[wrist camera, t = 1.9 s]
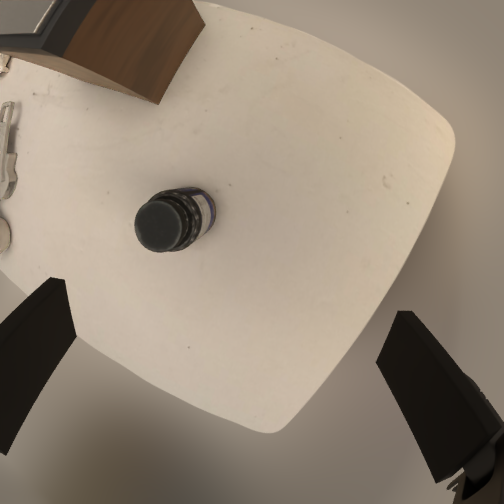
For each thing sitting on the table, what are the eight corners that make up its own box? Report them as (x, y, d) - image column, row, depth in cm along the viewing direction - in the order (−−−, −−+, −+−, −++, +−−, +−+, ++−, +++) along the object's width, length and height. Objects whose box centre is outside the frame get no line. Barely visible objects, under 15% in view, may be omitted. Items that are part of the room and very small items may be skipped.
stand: (205, 24, 28) (152, -64, 10) (158, 104, 32) (61, 57, 13) (124, 11, 28) (53, -46, 9) (83, 81, 31) (-10, 50, 13)
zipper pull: (29, 101, 32) (13, 98, 28) (16, 201, 37) (-1, 204, 33) (8, 106, 33) (-8, 104, 29) (-4, 197, 37) (-20, 200, 33)
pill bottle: (163, 223, 35) (118, 242, 25) (181, 179, 34) (139, 180, 23) (205, 244, 35) (174, 272, 25) (225, 199, 34) (200, 209, 23)
